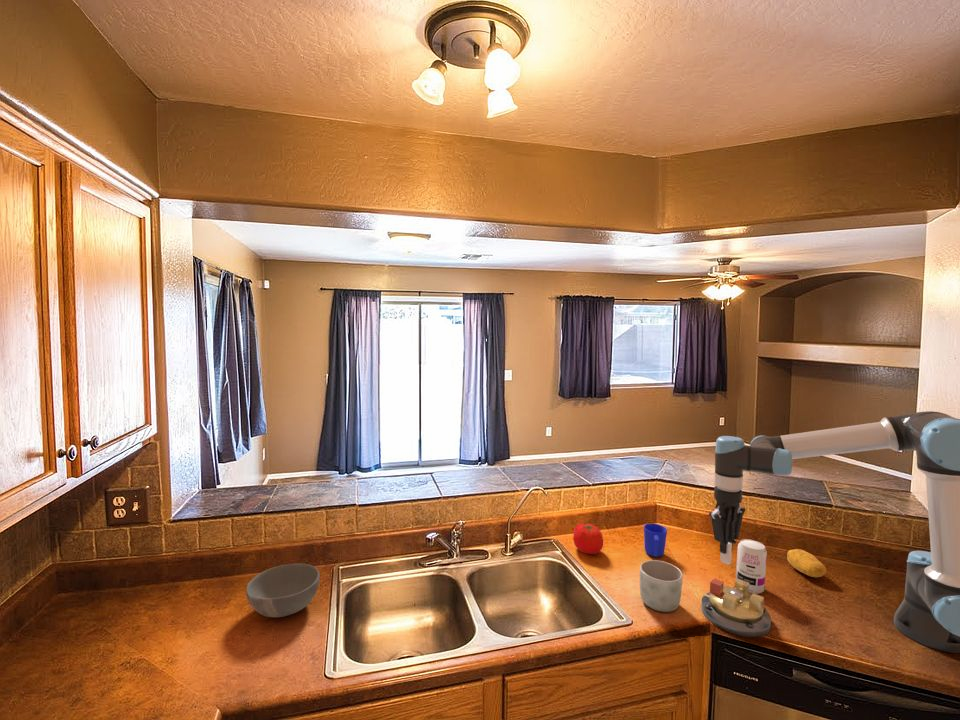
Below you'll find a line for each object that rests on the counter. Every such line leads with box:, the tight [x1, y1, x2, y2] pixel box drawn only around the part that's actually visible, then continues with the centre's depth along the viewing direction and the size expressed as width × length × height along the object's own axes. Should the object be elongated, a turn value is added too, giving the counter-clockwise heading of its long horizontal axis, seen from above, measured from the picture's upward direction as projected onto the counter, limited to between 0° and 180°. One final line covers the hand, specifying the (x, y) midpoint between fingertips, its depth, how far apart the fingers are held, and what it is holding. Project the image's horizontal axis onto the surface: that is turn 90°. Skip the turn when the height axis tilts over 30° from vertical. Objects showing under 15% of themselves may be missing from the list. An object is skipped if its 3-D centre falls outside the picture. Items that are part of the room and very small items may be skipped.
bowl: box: [245, 562, 320, 618], centre depth 136 cm, size 20×20×10 cm
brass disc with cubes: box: [709, 577, 765, 623], centre depth 136 cm, size 14×14×6 cm
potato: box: [786, 548, 827, 578], centre depth 160 cm, size 8×14×7 cm, turn 1°
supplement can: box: [735, 538, 768, 595], centre depth 150 cm, size 8×8×15 cm
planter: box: [639, 559, 684, 613], centre depth 141 cm, size 12×12×11 cm
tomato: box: [572, 522, 604, 555], centre depth 174 cm, size 11×13×10 cm
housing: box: [700, 589, 772, 638], centre depth 136 cm, size 18×18×8 cm
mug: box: [643, 523, 668, 558], centre depth 171 cm, size 8×12×10 cm
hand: (725, 562), depth 140 cm, fingers closed
